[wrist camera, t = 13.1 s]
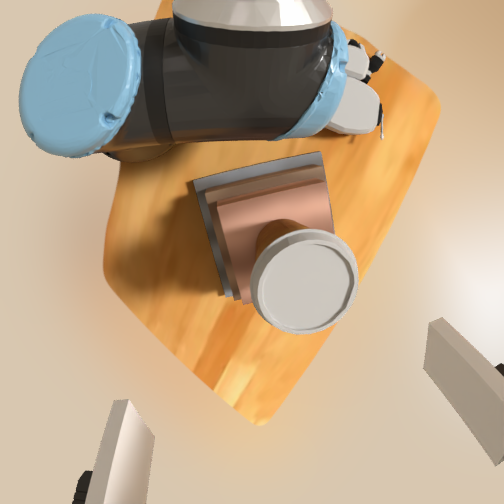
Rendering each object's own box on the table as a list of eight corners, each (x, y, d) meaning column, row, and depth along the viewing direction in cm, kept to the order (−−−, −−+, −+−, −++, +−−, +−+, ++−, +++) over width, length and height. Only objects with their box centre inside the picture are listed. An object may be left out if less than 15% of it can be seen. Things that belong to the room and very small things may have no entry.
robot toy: (306, 34, 37) (292, 125, 41) (315, 22, 33) (301, 120, 37) (380, 58, 39) (370, 144, 43) (394, 50, 35) (385, 143, 38)
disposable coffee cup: (283, 297, 39) (307, 355, 27) (224, 249, 36) (226, 298, 24) (337, 240, 37) (383, 281, 26) (281, 186, 34) (311, 207, 23)
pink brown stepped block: (193, 179, 42) (186, 189, 33) (318, 151, 42) (343, 153, 33) (225, 293, 48) (227, 327, 39) (336, 265, 49) (360, 292, 40)
